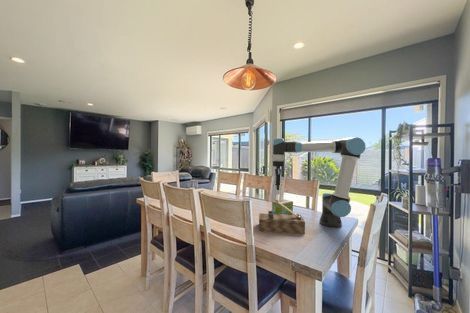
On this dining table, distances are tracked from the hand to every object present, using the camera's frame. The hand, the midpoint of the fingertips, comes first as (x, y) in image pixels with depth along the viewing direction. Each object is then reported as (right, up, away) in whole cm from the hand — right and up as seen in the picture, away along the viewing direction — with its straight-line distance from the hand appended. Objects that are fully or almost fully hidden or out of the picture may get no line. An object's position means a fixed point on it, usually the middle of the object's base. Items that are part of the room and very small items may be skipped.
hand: (277, 194), depth 146 cm
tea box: (+8, -24, +20) cm, 32 cm away
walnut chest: (+2, -24, 0) cm, 24 cm away
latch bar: (+6, -10, -1) cm, 12 cm away
